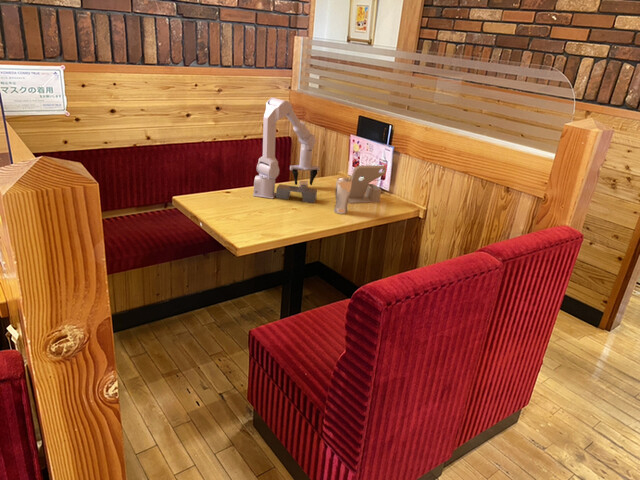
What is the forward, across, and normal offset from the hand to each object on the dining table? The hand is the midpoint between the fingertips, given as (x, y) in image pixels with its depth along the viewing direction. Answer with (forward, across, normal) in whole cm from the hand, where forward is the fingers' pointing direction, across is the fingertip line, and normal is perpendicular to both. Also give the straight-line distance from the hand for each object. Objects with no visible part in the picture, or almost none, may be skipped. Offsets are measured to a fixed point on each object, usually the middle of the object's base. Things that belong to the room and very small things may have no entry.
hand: (303, 184), depth 247 cm
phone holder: (+2, +25, -17) cm, 30 cm away
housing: (+2, -7, -16) cm, 18 cm away
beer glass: (+2, +9, -34) cm, 35 cm away
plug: (+2, -1, -6) cm, 6 cm away
